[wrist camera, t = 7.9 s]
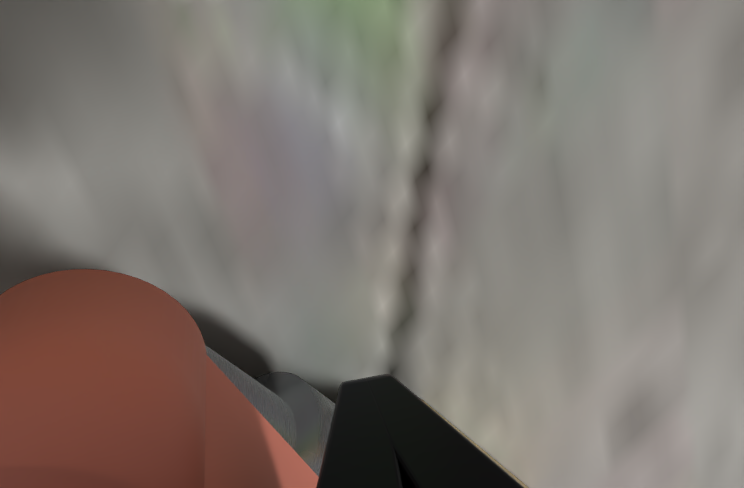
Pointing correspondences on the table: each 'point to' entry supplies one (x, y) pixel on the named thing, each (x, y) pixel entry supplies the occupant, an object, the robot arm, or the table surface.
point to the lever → (123, 394)
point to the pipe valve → (294, 410)
